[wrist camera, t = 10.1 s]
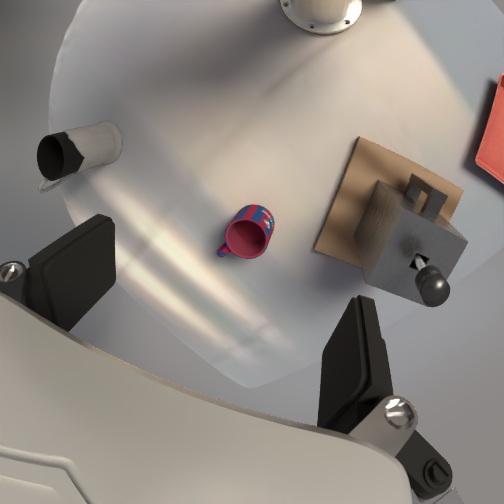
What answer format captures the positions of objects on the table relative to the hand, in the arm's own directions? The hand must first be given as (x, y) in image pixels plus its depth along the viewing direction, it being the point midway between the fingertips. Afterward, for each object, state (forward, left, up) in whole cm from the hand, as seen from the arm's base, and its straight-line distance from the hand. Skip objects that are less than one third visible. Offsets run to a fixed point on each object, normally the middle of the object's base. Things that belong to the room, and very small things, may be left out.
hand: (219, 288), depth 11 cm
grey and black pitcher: (+10, -37, -38) cm, 54 cm away
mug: (+15, -4, -38) cm, 41 cm away
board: (+4, +18, -38) cm, 42 cm away
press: (+2, +18, -36) cm, 41 cm away
